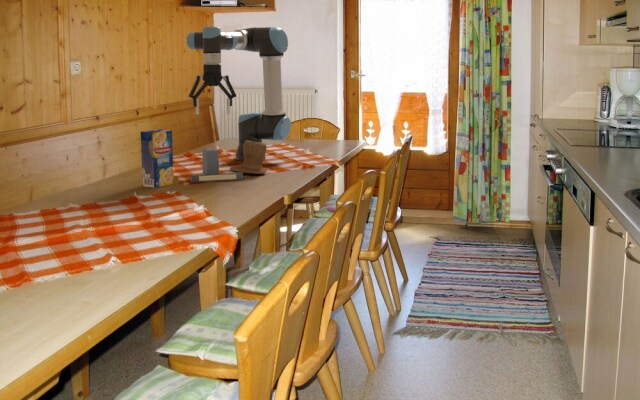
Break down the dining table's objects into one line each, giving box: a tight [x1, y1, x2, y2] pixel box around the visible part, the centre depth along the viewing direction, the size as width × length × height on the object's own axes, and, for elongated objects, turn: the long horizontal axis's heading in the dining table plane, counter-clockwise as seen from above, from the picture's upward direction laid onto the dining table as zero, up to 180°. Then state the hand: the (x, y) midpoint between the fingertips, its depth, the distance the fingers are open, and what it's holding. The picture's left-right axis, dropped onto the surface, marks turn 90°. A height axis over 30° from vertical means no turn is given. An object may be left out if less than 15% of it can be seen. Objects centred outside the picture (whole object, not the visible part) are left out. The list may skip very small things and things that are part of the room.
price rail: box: [190, 172, 244, 184], centre depth 326 cm, size 2×22×3 cm, turn 111°
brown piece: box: [229, 140, 267, 175], centre depth 345 cm, size 15×12×15 cm
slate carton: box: [201, 147, 220, 174], centre depth 336 cm, size 9×5×12 cm, turn 21°
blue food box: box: [140, 129, 175, 188], centre depth 314 cm, size 7×11×22 cm, turn 148°
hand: (212, 114), depth 332 cm, fingers open, 13 cm apart
